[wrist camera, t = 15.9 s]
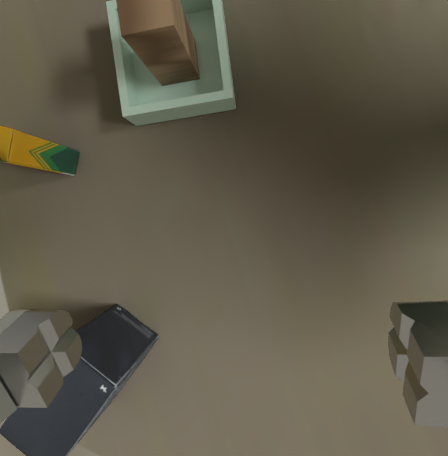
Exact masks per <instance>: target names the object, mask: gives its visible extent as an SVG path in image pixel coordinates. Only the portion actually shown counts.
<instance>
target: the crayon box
mask: <svg viewBox="0 0 448 456" xmlns="http://www.w3.org/2000/svg"><path fill="white" fill-rule="evenodd" d="M79 153H80V152H79V151H77V150H74V149H71V148H69V147H65V146H62V145H59V144H56V143H53V142H50V141H47V140H44V139H41V138H38V137H35V136H32V135H29V134H26V133H23V132H20V131H17V130H15V129H11V128H8V127H4V126H0V162H3V163H9V164H14V165H19V166H25V167H30V168H35V169H40V170H46V171H51V172H56V173H61V174H66V175H71V176H75V172H76V167H77V163H78V158H79Z"/></svg>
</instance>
